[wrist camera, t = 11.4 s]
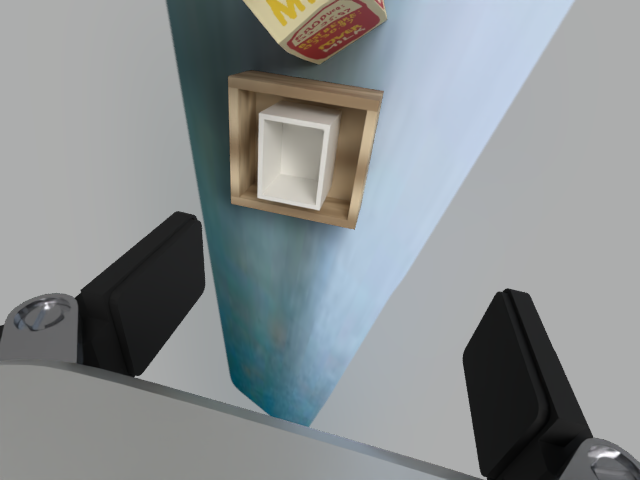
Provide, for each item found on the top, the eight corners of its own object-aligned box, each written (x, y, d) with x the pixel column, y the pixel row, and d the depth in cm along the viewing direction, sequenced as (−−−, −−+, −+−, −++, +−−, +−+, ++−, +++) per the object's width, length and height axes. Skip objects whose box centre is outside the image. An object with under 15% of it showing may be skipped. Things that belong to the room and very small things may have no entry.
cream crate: (281, 100, 39) (258, 113, 33) (342, 110, 38) (330, 125, 33) (277, 175, 44) (257, 197, 38) (331, 185, 43) (319, 210, 37)
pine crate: (251, 69, 39) (228, 76, 34) (383, 91, 37) (379, 100, 32) (250, 184, 47) (231, 203, 42) (360, 207, 45) (354, 229, 40)
